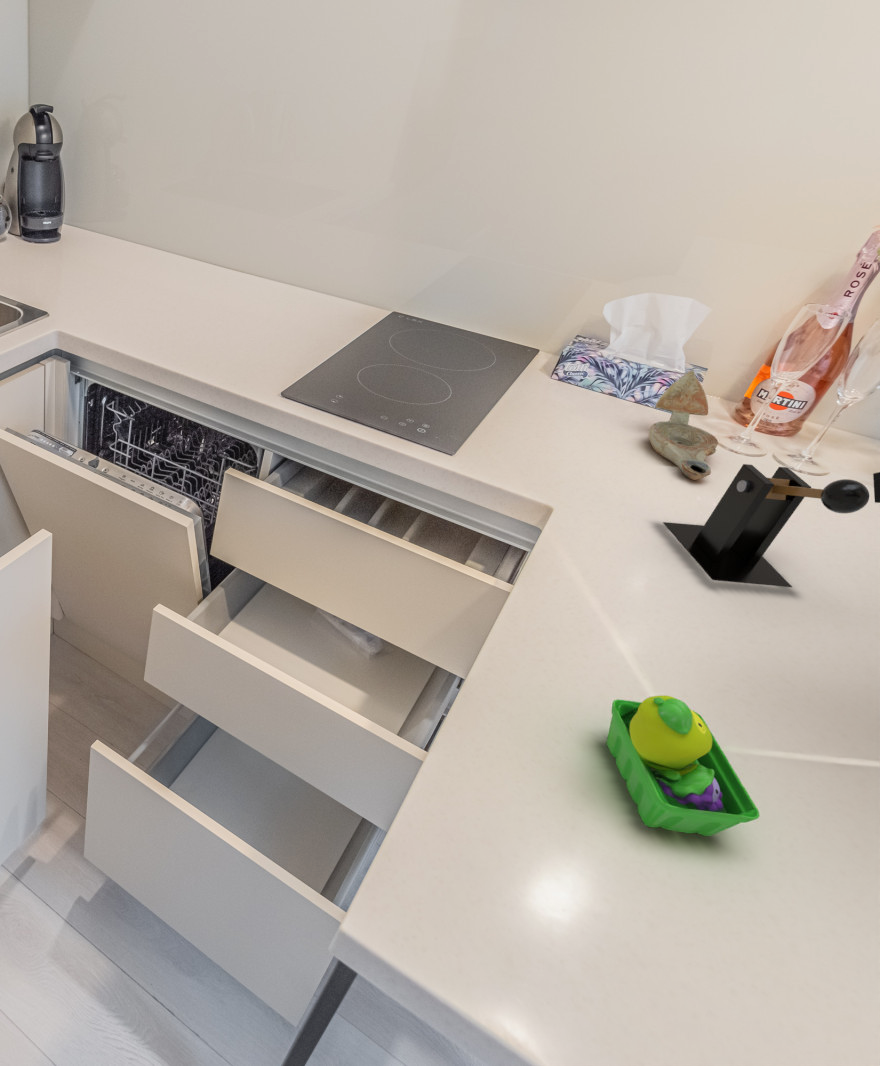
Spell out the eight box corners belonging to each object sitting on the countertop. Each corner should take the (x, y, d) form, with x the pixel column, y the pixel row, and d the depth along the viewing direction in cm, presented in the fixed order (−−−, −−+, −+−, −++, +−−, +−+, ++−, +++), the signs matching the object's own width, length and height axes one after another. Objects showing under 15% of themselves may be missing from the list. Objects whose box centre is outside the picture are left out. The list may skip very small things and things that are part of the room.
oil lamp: (691, 431, 124) (723, 375, 118) (723, 498, 108) (763, 436, 102) (631, 421, 126) (659, 365, 120) (654, 484, 110) (688, 423, 104)
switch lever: (875, 516, 78) (883, 482, 77) (837, 513, 78) (845, 479, 78) (771, 503, 91) (777, 473, 90) (739, 500, 91) (746, 470, 91)
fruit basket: (732, 855, 63) (813, 772, 57) (618, 836, 64) (684, 753, 58) (671, 745, 72) (735, 662, 66) (572, 730, 73) (625, 648, 67)
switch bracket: (786, 595, 91) (854, 507, 83) (707, 587, 92) (767, 500, 84) (729, 535, 100) (785, 452, 93) (658, 529, 101) (708, 446, 93)
